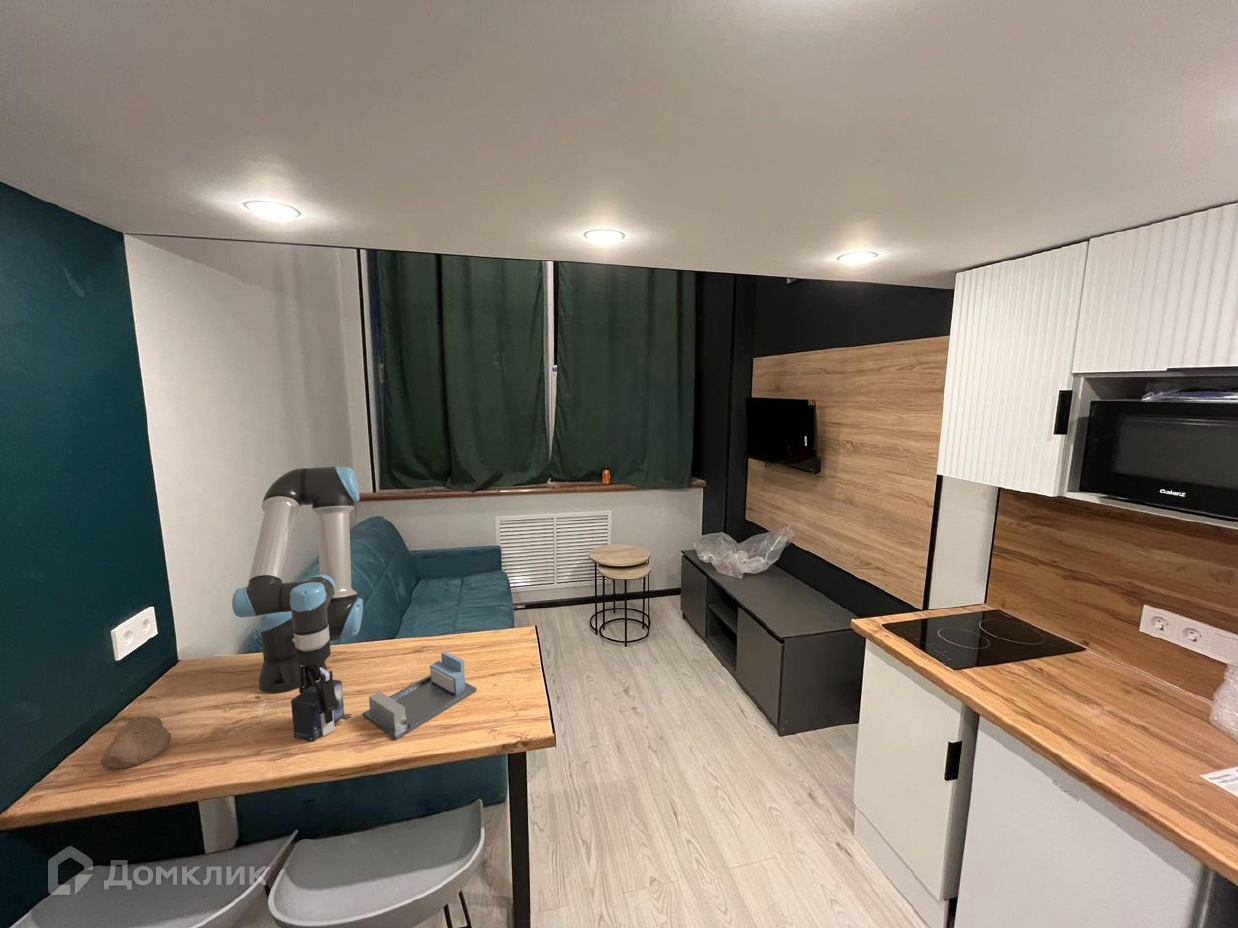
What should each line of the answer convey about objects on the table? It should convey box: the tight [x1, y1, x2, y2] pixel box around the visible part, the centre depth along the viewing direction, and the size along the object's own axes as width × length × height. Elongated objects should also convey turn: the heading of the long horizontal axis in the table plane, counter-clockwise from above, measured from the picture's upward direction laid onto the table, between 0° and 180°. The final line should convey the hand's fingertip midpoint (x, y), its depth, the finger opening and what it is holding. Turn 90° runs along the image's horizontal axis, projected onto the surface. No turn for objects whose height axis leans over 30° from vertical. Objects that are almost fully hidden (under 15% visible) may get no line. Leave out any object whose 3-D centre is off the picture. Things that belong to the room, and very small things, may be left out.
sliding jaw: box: [429, 651, 466, 695], centre depth 144 cm, size 12×5×8 cm, turn 55°
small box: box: [290, 679, 345, 742], centre depth 127 cm, size 11×6×10 cm, turn 168°
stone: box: [99, 716, 172, 771], centre depth 118 cm, size 12×9×10 cm
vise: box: [362, 674, 477, 741], centre depth 137 cm, size 16×25×6 cm, turn 145°
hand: (320, 725), depth 128 cm, fingers closed on small box, 8 cm apart
